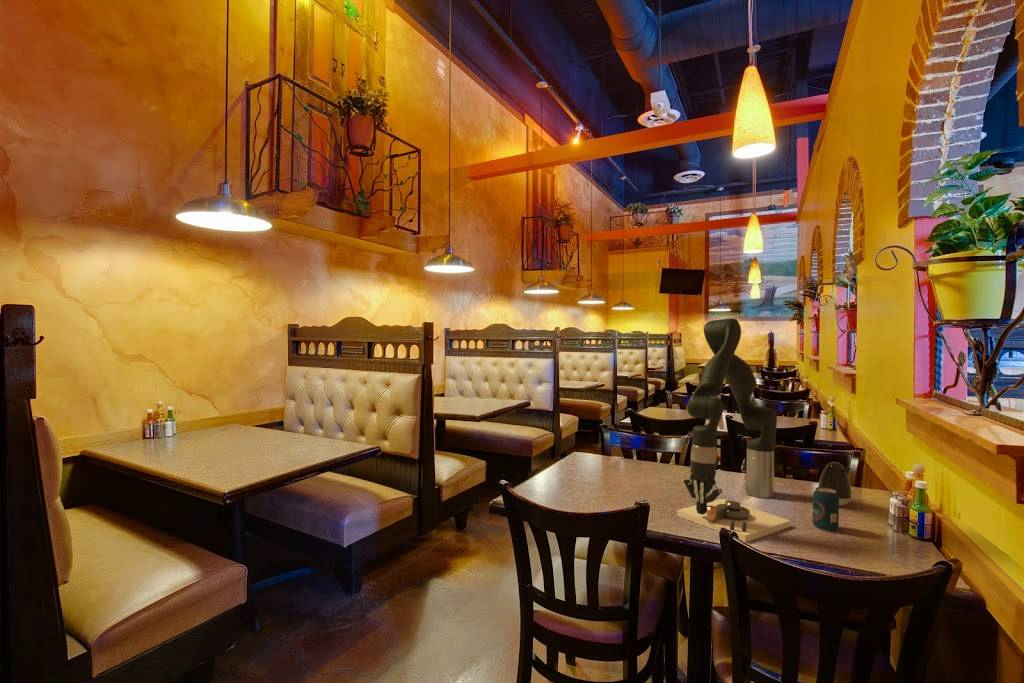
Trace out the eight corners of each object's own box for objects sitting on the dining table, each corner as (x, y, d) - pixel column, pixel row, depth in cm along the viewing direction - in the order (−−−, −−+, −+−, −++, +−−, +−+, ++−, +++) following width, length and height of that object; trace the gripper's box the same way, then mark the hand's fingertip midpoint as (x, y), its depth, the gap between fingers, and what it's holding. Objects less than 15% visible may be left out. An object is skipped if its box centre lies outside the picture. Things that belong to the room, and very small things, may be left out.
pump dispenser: (840, 510, 171) (841, 466, 171) (811, 501, 180) (812, 459, 180) (858, 506, 175) (859, 464, 175) (829, 498, 185) (830, 457, 185)
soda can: (807, 524, 158) (808, 486, 157) (827, 523, 158) (828, 486, 158) (822, 532, 151) (823, 493, 151) (843, 532, 151) (844, 493, 151)
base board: (721, 504, 175) (722, 491, 175) (790, 526, 155) (790, 512, 155) (677, 516, 162) (677, 502, 162) (745, 542, 142) (745, 527, 142)
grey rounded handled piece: (727, 506, 165) (727, 494, 165) (756, 515, 157) (756, 503, 157) (694, 515, 156) (694, 503, 156) (723, 526, 147) (723, 512, 147)
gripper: (678, 455, 159) (676, 508, 160) (714, 465, 148) (712, 523, 148) (693, 453, 163) (691, 505, 164) (729, 462, 152) (727, 518, 152)
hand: (701, 513), depth 156 cm, fingers closed
